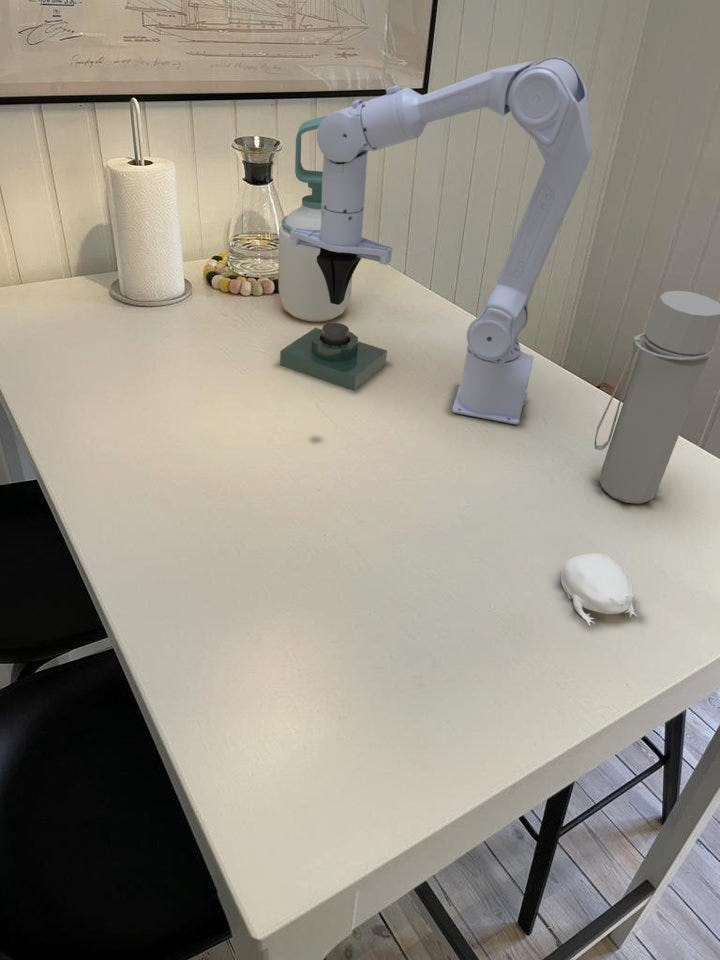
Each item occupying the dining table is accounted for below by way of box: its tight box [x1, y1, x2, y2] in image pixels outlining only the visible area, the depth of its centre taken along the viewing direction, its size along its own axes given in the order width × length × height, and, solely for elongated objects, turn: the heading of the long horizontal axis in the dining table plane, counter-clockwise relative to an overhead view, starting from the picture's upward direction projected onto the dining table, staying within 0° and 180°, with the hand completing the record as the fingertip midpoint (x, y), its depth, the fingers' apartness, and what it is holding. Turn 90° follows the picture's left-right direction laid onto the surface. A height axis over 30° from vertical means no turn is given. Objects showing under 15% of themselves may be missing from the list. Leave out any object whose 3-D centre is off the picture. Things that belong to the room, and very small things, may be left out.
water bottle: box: [593, 290, 720, 505], centre depth 88 cm, size 9×8×25 cm
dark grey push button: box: [321, 322, 350, 346], centre depth 112 cm, size 4×4×2 cm
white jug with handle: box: [278, 115, 353, 323], centre depth 121 cm, size 12×12×31 cm
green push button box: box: [279, 327, 388, 392], centre depth 114 cm, size 13×10×4 cm
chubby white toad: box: [560, 552, 638, 626], centre depth 78 cm, size 8×7×4 cm
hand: (337, 301), depth 109 cm, fingers closed
